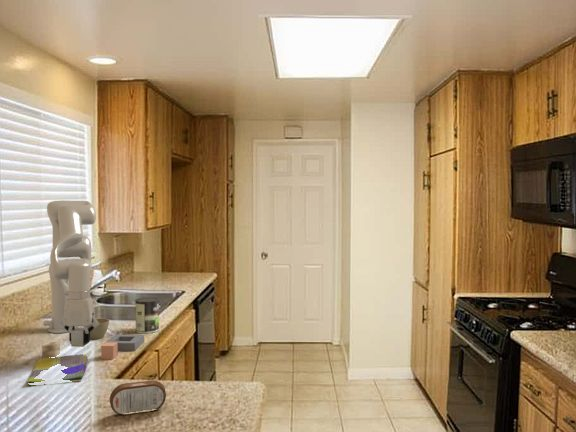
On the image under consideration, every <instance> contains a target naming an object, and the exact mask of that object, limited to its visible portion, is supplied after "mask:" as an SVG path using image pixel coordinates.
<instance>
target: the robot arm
mask: <svg viewBox="0 0 576 432" xmlns="http://www.w3.org/2000/svg"><path fill="white" fill-rule="evenodd" d="M46 213H47V216H48V218H49V221H50V224H51V226H52V249H51V250H50V257H49V259H50V264H49V265H48V273H49V279H50V280H49V281H50V290H51V291H50V292H51V295H50V296H51V298H50V299H51V303H50V304H51V319H50V320H44V321H43V326H45V327H46V326H48V328H47V331H48V332H49V333H50V334H51V333H52V334H65V333H67V334H68V335H69V343H70V345H71V330H73V329H74V328H76V327H84V329H85V334H84V344H86V345H88V344H89V343H90V341H91V338H90V332H91V331H92V330H93V329H94V328H95V327H96V326H98V325H99V322H98V321H97V320H96V317H95V316H96V315H95V306H94V301H93V298H92V297H91V274H92V270H93V267H92V266H93V265H92V242H91V240H90V238H89V237H88V236H86V235H84V232H83V225H84V226H85V225H87V226H89V225H93V224H95V223H96V221H97V213H96V208H95V206H94V205H93V203H91V202H90V201H88V200H52V201H49V203H47V206H46ZM59 258H65V259H59ZM67 258H69V259H67ZM91 323H93V325H92V326H90V324H91ZM87 343H88V344H87Z"/></svg>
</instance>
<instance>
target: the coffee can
mask: <svg viewBox="0 0 576 432" xmlns="http://www.w3.org/2000/svg"><path fill="white" fill-rule="evenodd" d="M134 301H135V333H138V334H153V333H156V332H158V331H160V323H159V322H160V315H159V314H160V313H159V312H160V306H159V305H160V304H159V303H160V298H158V297H150V296H149V297H141V298H140V297H139V298H136V299H135V300H134Z"/></svg>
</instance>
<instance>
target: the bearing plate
mask: <svg viewBox="0 0 576 432" xmlns="http://www.w3.org/2000/svg"><path fill="white" fill-rule="evenodd" d="M106 342H117V347H118V351H119V352H121V351H122V352H123V351H129V352H131V351H133V352H134V351H136V350H137V349H139V348H140V346H141V345H143V344H144V343H145V334H114V335H113V336H110V338H109V339H107V340H106V341H105V342H104V343H106Z"/></svg>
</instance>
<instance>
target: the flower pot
mask: <svg viewBox="0 0 576 432" xmlns="http://www.w3.org/2000/svg"><path fill="white" fill-rule="evenodd" d="M95 318H96V317H95ZM96 320H97V321H98V322H99V325H98V326H96V327H95V328H94V329H93V330H92V331H91V332H90V340H91V339H92V340H100V339H103V338H104V337H105V335H106V334H107V331H108V329H109V325H110V319H109V318H102V317H97V318H96ZM92 325H93V323H91V324H90V326H92Z"/></svg>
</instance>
